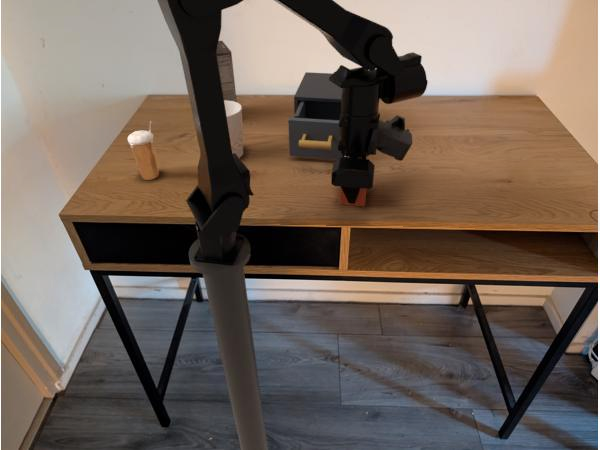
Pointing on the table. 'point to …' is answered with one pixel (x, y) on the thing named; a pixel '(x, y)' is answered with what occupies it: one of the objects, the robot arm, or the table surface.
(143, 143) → the milkshake
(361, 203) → the block
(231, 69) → the coffee box
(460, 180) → the table surface
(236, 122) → the white cup
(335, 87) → the cabinet
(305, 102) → the drawer
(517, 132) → the table surface
